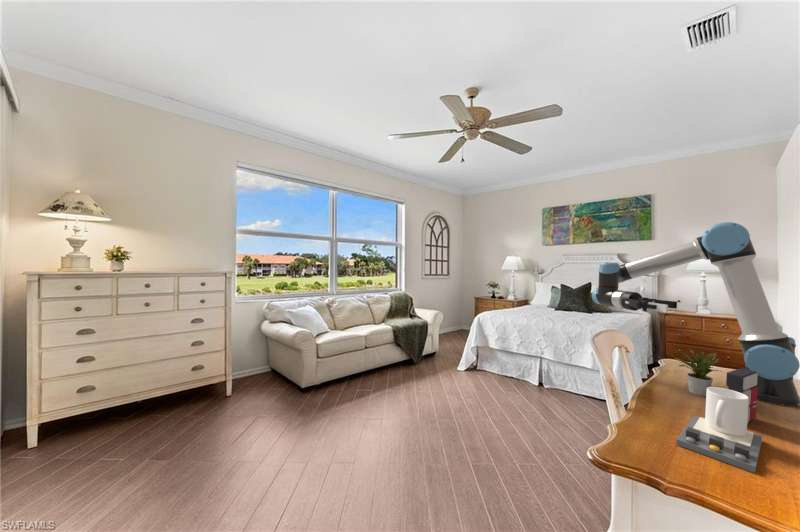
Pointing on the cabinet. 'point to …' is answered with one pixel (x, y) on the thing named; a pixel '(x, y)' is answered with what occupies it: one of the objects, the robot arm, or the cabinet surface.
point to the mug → (726, 411)
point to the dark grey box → (745, 387)
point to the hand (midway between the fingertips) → (682, 308)
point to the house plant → (699, 372)
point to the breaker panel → (726, 450)
